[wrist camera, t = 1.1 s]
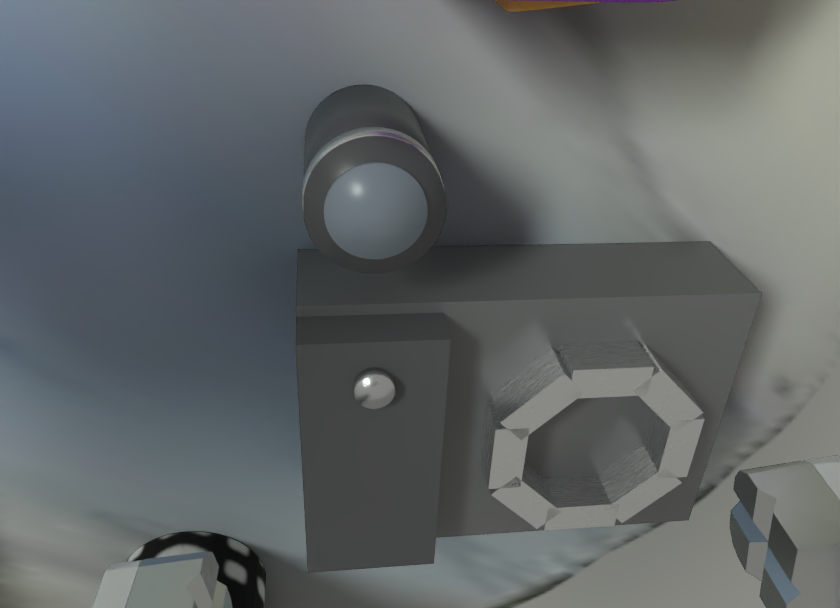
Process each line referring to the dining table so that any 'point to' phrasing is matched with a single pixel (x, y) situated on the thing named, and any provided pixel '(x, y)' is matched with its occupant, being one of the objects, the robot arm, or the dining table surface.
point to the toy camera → (553, 3)
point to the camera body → (509, 391)
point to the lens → (370, 182)
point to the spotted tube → (233, 559)
